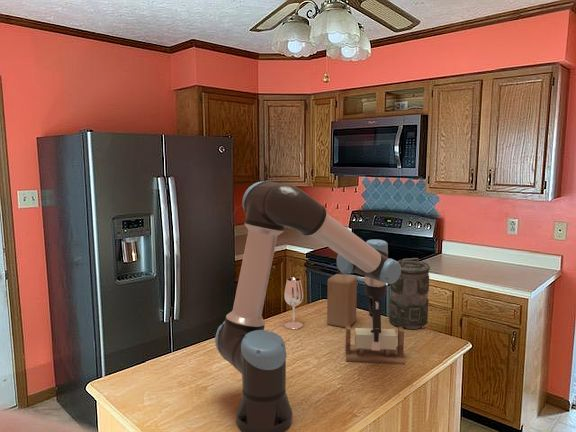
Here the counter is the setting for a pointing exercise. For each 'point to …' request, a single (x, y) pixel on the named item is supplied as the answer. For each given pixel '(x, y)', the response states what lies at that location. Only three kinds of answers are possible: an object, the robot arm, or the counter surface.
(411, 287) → the canister
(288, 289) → the wineglass
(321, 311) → the counter surface
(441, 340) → the counter surface
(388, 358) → the peg frame
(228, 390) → the counter surface
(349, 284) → the block
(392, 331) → the cream rectangular block
